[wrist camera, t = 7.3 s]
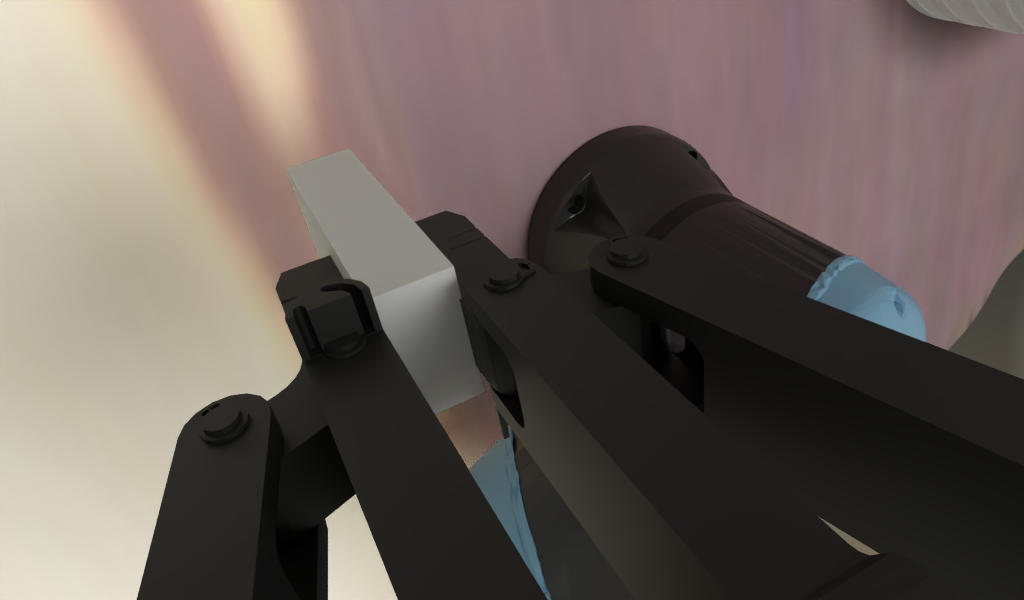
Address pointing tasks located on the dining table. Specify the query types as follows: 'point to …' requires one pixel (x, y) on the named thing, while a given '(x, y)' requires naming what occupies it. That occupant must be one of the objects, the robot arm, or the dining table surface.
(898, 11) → the dining table surface
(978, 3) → the plate stack
